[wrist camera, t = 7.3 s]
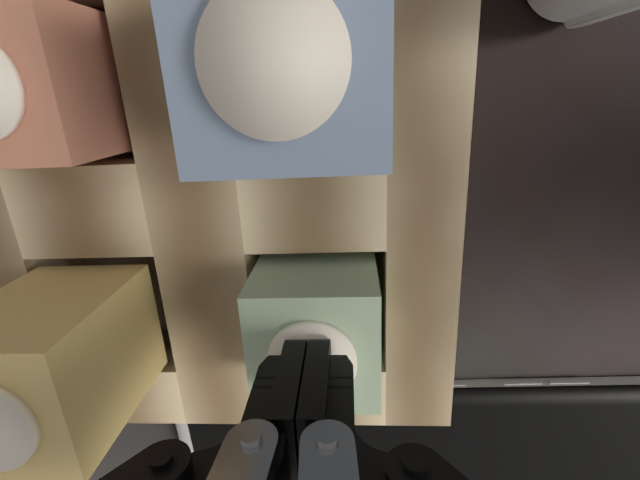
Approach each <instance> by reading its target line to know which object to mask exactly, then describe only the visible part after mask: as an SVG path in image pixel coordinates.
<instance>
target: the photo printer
mask: <svg viewBox="0 0 640 480" xmlns="http://www.w3.org/2000/svg"><path fill="white" fill-rule="evenodd" d="M527 1H528V3H529V5H530V6H531V7H532V9H533V10H534V11H535V12H536V13H537V14H538V15H540V16H541V17H543V18H545V19H547V20H550V21H554V22H563V23H564V25H565V26H566V28H567V29H574V28H579V27H583V26H586V25H590V24H593V23H596V22H599V21H603V20H606V19H609V18H612V17H616V16H619V15H622V14H626V13H629V12H632V11H636V10H639V9H640V0H527Z"/></svg>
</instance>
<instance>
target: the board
mask: <svg viewBox="0 0 640 480" xmlns="http://www.w3.org/2000/svg"><path fill="white" fill-rule="evenodd" d="M69 1H72V2H75V3H78V4H81V5H84V6H87V7H90V8H93V9H96V10H99V11H102V12H105V13H106V18H107V23H108V28H109V33H110V38H111V43H112V48H113V53H114V58H115V63H116V69H117V74H118V79H119V84H120V89H121V94H122V99H123V104H124V109H125V114H126V119H127V124H128V130H129V135H130V140H131V145H132V151H129V152H125V153H121V154H118V155H114V156H110V157H107V158H103V159H99V160H96V161H92V162H88V163H85V164H81V165H77V166H73V167H55V168H29V169H4V170H0V288H2V287H3V286H5V285H7V284H9V283H10V282H12V281H14V280H16V279H17V278H19V277H21V276H23V275H25V274H26V273H28V272H30V271H32V270H33V269H35V268H37V267H40V266H89V265H138V264H148V268H149V272H150V277H151V282H152V287H153V292H154V297H155V302H156V307H157V312H158V317H159V322H160V327H161V332H162V337H163V341H164V346H165V351H166V356H167V361H168V362H167V363H166V365H165V366H164V368H163V369H162V371H161V372H160V374H159V375H158V377H157V378H156V380H155V381H154V383H153V384H152V386H151V387H150V389H149V390H148V392H147V393H146V395H145V396H144V398H143V399H142V401H141V402H140V404H139V405H138V407H137V408H136V410H135V411H134V413H133V414H132V416H131V417H130V419H129V420H128V422H127V423H177V424H239V423H240V422H241V420H242V416H243V413H244V410H245V407H246V404H247V401H248V398H249V388H248V381H247V373H246V365H245V357H244V349H243V342H242V334H241V326H240V318H239V311H238V303H237V298H238V296H239V294H240V292H241V290H242V288H243V287H244V285H245V283H246V281H247V279H248V277H249V275H250V274H251V272H252V270H253V268H254V266H255V264H256V262H257V261H258V259H259V257H260V255H261V254H295V253H341V252H374V254H375V260H376V266H377V272H378V278H379V285H380V291H381V297H382V312H381V415H354V417H355V425H385V426H451V413H452V400H453V386H454V372H455V358H456V344H457V330H458V316H459V302H460V288H461V274H462V260H463V246H464V232H465V218H466V205H467V191H468V177H469V163H470V149H471V135H472V121H473V107H474V93H475V79H476V65H477V51H478V37H479V24H480V10H481V0H394V72H393V171H392V174H389V175H361V176H334V177H306V178H278V179H250V180H222V181H195V182H180V180H179V174H178V168H177V162H176V156H175V150H174V144H173V137H172V131H171V125H170V119H169V113H168V107H167V101H166V95H165V88H164V82H163V76H162V70H161V64H160V58H159V52H158V46H157V39H156V33H155V27H154V21H153V15H152V9H151V3H150V0H69Z"/></svg>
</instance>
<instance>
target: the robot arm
mask: <svg viewBox="0 0 640 480" xmlns="http://www.w3.org/2000/svg"><path fill="white" fill-rule="evenodd" d="M99 480H469V479H468V478H467V477H465V476H464V475H463V474H462V473H461V472H459V471H458V470H457V469H456V468H455V467H453V466H452V465H451V464H450V463H448V462H447V461H446V460H445V459H444V458H442V457H441V456H440V455H439V454H438V453H436V452H435V451H434V450H432V449H431V448H429V447H427V446H425V445H422V444H418V443H404V444H400V445H397V446H396V447H394V448H393V449H391V450H390V452H389V453H388V452H384V451H381V450H378V449H375V448H373V447H371V446H369V445H367V444H366V443H365V442H364V441H362V440H361V438H360V437H359V436H358V434H357V432H356V430H355V417H354V376H353V364H352V362H351V361H350V359H349V358H348V356H347V355H331V340H330V339H309V340H308V341H307V339H306V340H285V341H284V344H283V348H282V352H281V355H268V356H267V357H266V358H265V360H264V361H263V362H262V363H261V364H260V365H259V367H258V370H257V373H256V376H255V379H254V382H253V385H252V389H251V392H250V395H249V398H248V401H247V404H246V407H245V410H244V413H243V416H242V420H241V422H240V423H239V424H237V425H235V426H234V427H233V428H232V429H230V430H229V432H228V433H227V435H226V436H225V438H224V441H223V443H221V444H219V445H217V446H214V447H211V448H207V449H203V450H200V451H196V452H192V453H191V450H190V448H189V446H188V445H187V444H186V443H185V442H183V441H181V440H177V439H167V440H162V441H159V442H156V443H154V444H152V445H150V446H149V447H147V448H146V449H144V450H143V451H141V452H140V453H138V454H136V455H135V456H133V457H132V458H130V459H129V460H127V461H126V462H124V463H123V464H121V465H120V466H118V467H117V468H115V469H114V470H112V471H111V472H109V473H108V474H106V475H105V476H103V477H102V478H100V479H99Z"/></svg>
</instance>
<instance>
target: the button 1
mask: <svg viewBox="0 0 640 480" xmlns="http://www.w3.org/2000/svg"><path fill="white" fill-rule="evenodd" d="M129 151H132V145H131V140H130V135H129V130H128V124H127V119H126V114H125V109H124V104H123V99H122V94H121V89H120V84H119V79H118V74H117V69H116V63H115V58H114V53H113V48H112V43H111V38H110V33H109V28H108V23H107V18H106V13H105V12H102V11H99V10H96V9H93V8H90V7H87V6H84V5H81V4H78V3H75V2H72V1H69V0H0V170H4V169H29V168H55V167H73V166H77V165H81V164H85V163H88V162H92V161H96V160H99V159H103V158H107V157H110V156H114V155H118V154H121V153H125V152H129Z"/></svg>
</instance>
